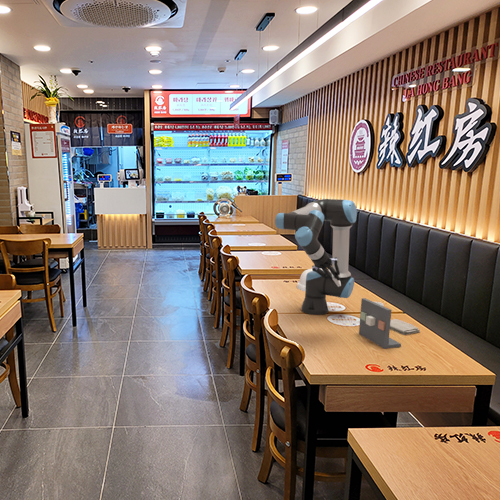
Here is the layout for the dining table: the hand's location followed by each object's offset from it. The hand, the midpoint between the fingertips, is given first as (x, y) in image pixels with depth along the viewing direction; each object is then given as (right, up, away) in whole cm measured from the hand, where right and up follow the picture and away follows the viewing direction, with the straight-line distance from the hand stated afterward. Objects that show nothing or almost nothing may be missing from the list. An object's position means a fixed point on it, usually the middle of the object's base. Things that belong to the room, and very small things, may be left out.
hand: (339, 284), depth 212 cm
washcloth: (+34, -25, +14) cm, 44 cm away
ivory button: (+13, -18, -7) cm, 24 cm away
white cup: (+24, -22, +24) cm, 41 cm away
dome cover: (+5, -11, +94) cm, 95 cm away
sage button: (+13, -17, 0) cm, 21 cm away
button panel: (+18, -26, -4) cm, 32 cm away
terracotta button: (+17, -19, -13) cm, 29 cm away
